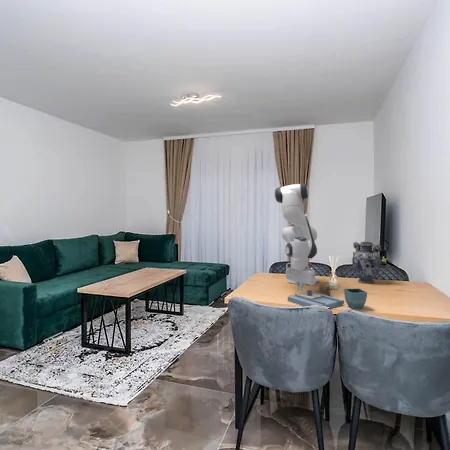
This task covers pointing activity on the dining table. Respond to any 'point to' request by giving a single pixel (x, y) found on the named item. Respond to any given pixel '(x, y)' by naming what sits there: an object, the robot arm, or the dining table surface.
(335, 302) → the puzzle board
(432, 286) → the dining table surface
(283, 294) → the dining table surface
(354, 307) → the flower pot
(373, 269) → the decorative vase
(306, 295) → the lid
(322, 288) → the walnut block
